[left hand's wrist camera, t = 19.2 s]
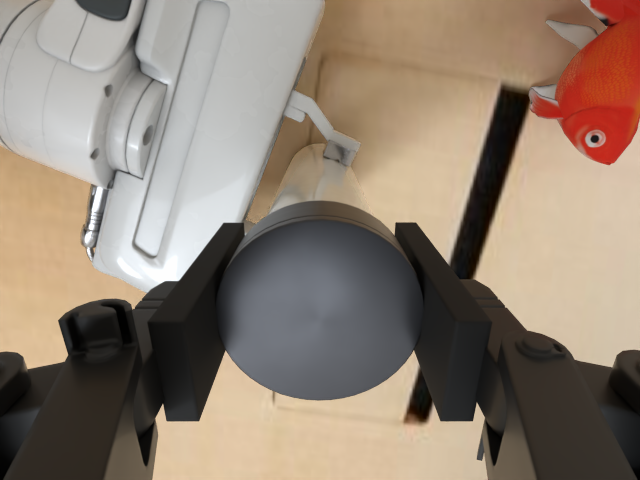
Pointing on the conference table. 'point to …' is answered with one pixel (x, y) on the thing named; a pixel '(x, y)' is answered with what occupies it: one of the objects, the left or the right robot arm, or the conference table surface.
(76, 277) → the conference table surface
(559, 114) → the fish
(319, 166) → the jar
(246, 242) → the lid
